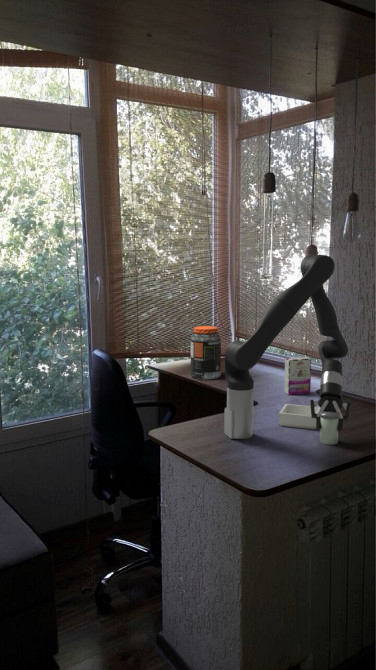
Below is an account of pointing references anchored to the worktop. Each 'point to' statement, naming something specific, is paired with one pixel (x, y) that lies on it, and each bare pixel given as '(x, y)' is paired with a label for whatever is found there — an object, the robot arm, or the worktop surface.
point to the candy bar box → (297, 375)
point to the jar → (329, 427)
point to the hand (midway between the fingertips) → (329, 429)
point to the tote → (297, 416)
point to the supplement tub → (205, 353)
